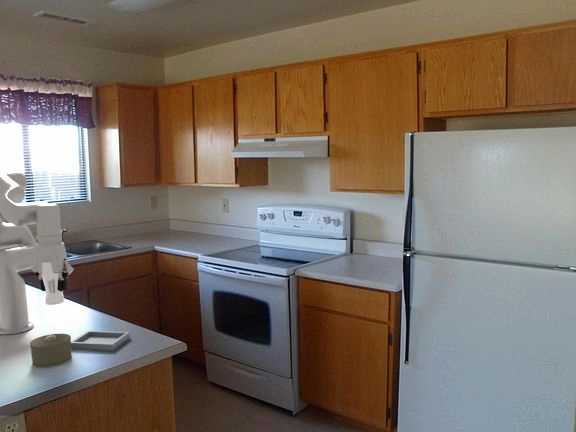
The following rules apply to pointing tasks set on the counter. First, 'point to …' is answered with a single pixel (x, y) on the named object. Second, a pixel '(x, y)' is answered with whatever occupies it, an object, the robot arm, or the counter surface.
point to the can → (51, 350)
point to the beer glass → (51, 284)
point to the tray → (100, 340)
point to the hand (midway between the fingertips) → (54, 289)
